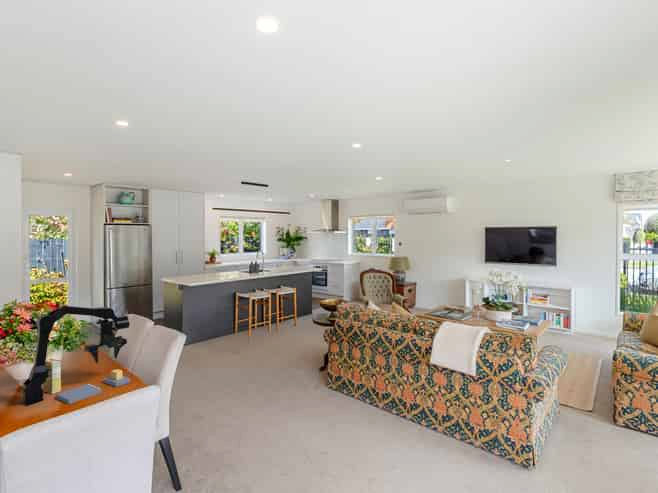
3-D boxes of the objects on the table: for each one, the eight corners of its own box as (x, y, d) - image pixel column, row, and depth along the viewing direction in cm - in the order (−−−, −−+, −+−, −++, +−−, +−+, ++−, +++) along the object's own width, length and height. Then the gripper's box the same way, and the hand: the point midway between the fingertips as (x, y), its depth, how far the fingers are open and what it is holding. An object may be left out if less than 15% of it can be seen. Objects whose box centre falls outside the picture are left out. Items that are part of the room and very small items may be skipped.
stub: (116, 386, 177) (116, 375, 177) (103, 382, 183) (103, 371, 183) (130, 381, 183) (129, 370, 183) (117, 377, 189) (117, 366, 189)
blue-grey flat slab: (68, 404, 159) (68, 399, 159) (56, 398, 165) (56, 393, 165) (101, 392, 171) (101, 388, 171) (88, 387, 177) (88, 383, 177)
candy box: (41, 391, 173) (41, 360, 173) (51, 388, 177) (51, 358, 177) (52, 394, 170) (51, 363, 169) (61, 390, 173) (61, 360, 173)
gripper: (95, 337, 172) (95, 368, 172) (132, 329, 188) (132, 358, 188) (83, 334, 177) (83, 364, 177) (121, 327, 193) (121, 355, 193)
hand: (106, 360), depth 184 cm, fingers open, 9 cm apart
